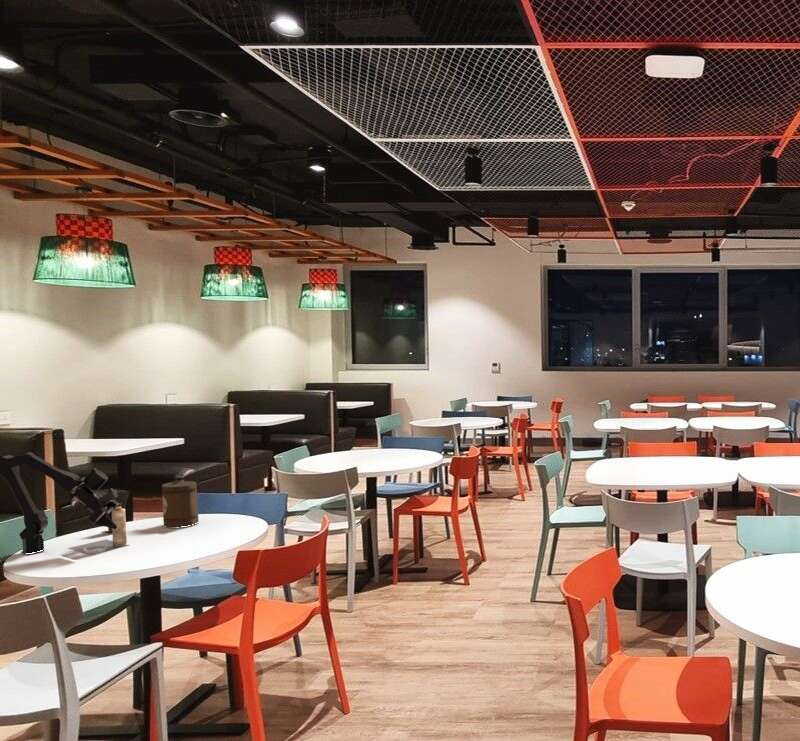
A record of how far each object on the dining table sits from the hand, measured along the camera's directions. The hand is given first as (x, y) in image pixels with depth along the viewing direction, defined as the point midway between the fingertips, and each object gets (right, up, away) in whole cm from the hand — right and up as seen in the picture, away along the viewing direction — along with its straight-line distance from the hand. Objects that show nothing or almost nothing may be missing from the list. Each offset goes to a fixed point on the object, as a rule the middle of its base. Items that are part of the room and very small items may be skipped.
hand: (120, 525), depth 286 cm
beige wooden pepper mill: (0, -8, 0) cm, 8 cm away
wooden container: (+12, -8, +38) cm, 41 cm away
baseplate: (-8, -9, 0) cm, 12 cm away
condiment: (-14, -9, +28) cm, 33 cm away
